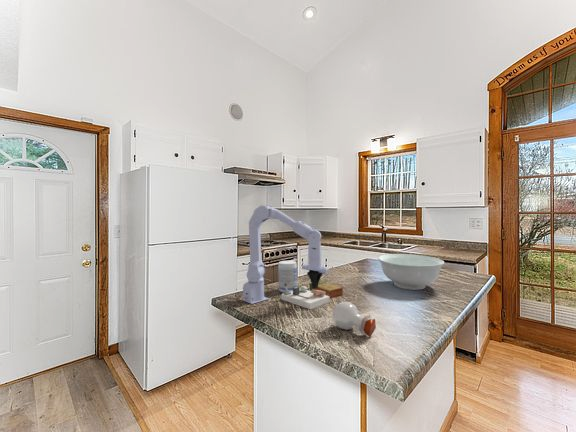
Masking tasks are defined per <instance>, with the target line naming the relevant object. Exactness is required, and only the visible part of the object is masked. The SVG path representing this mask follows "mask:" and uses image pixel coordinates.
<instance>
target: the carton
mask: <svg viewBox="0 0 576 432" xmlns="http://www.w3.org/2000/svg"><path fill="white" fill-rule="evenodd" d="M311 290H321V291H325V292H326V294H325V295H326V296H330V299H333V298H337V297H338V298H339V297H342V296H343V295H344V293H343V287H341V286H338V285H335V284H332V283H330V282H326V281H323V280H319V284H318V287H317V288H313V287H312V283H311V282H310V283H309V291H311Z"/></svg>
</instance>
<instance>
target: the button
mask: <svg viewBox="0 0 576 432" xmlns="http://www.w3.org/2000/svg"><path fill="white" fill-rule="evenodd" d="M299 289H300V291H301V292H306V290H307V286H305V285H301V286H299Z"/></svg>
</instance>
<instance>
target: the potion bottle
mask: <svg viewBox="0 0 576 432" xmlns="http://www.w3.org/2000/svg"><path fill="white" fill-rule="evenodd" d="M371 317H372V316H371V314H369V315H366V316H364V315H361V314H360V312H359V309H358V308H357V306H356V305H355V304H353V303H352V302H350V301H341V302H339V303H337V304H336V305H335V307H334V308H333V310H332V321H333V322H334V324H335V326H336V327H338V328H339V329H341V330H349V331H350V330H352V329H354V328H357V329H358V331H359V333H361V334H362V335H363V336H367V337H368V338H371V337H372V335H373V333H374V332H375V330H376V328H377V327H376V325H377V324H376V318H373V319H372V318H371Z"/></svg>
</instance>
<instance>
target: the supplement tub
mask: <svg viewBox="0 0 576 432" xmlns="http://www.w3.org/2000/svg"><path fill="white" fill-rule="evenodd" d="M297 267H298V264H297V261H295V260H281V261H279V262H278V267H277V269H278V274H277V275H278V291H279V292H281V293H284V292H290V291H293V288H294V287H298V268H297ZM285 283H286V284H287V288H288V291H286V288H285V286H284V284H285Z"/></svg>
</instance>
